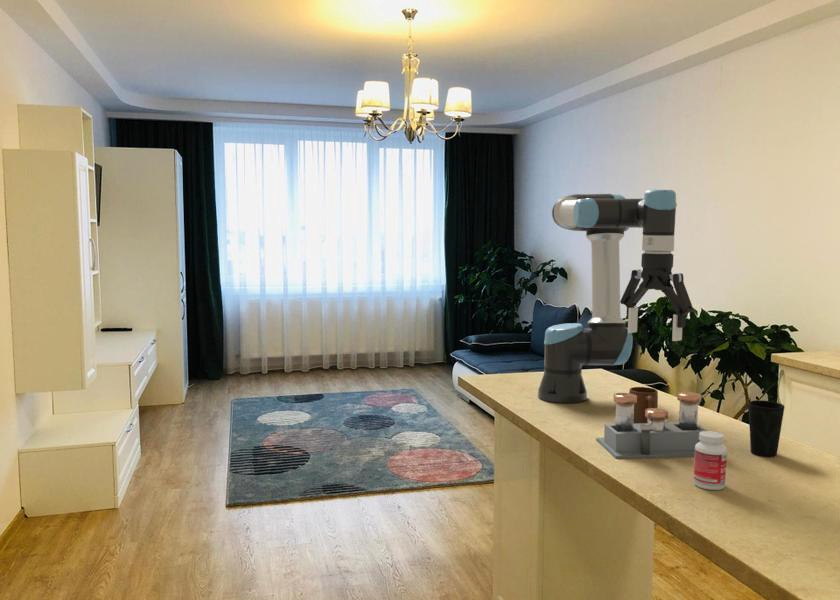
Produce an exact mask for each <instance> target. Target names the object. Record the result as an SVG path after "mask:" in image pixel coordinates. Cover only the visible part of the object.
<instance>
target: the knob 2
mask: <svg viewBox="0 0 840 600" xmlns="http://www.w3.org/2000/svg"><path fill="white" fill-rule="evenodd" d="M676 397H677V400H678V402H679V415H678V423H679V428H680V429H683V430H697V424H698V417H699V403H701V402H702V394H700V393H699V392H693V391H679V392H677V396H676Z"/></svg>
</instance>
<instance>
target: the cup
mask: <svg viewBox="0 0 840 600" xmlns="http://www.w3.org/2000/svg"><path fill="white" fill-rule="evenodd" d="M747 405H748V422H749V423H748V425H749V444H750V445H749V446H750V453H751V454H752V455H754V456H757V457H762V458H775V456H776V457H777V455H778V450H779V443H780V437H781V430H782V425H783V419H784V411H785V405H784V404H782V403H781V402H776V401H770V400H762V399H761V400H751V401H748V403H747Z"/></svg>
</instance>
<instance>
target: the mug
mask: <svg viewBox="0 0 840 600" xmlns="http://www.w3.org/2000/svg"><path fill="white" fill-rule="evenodd" d="M628 393H630V394H634V395H636V396H637V403H634V422H633V424H638V423H647V417H645V410H646V409H648V408H658V406H659V404H658V403H659V397H658V395H659V394H658V393H659V391H658V390H657V389H656V388H653V387H648V386H647V387H645V386H635V387H634V386H633V387H630V388H629V392H628Z"/></svg>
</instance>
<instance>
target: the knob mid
mask: <svg viewBox="0 0 840 600" xmlns="http://www.w3.org/2000/svg"><path fill="white" fill-rule="evenodd" d="M669 413H670V412H669V411H668V410H667V409H663V408H648V409H646V410H645V417H647V424H649V425H652V430H650V431H665V425H666V423H667V420H668V419H669Z"/></svg>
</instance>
